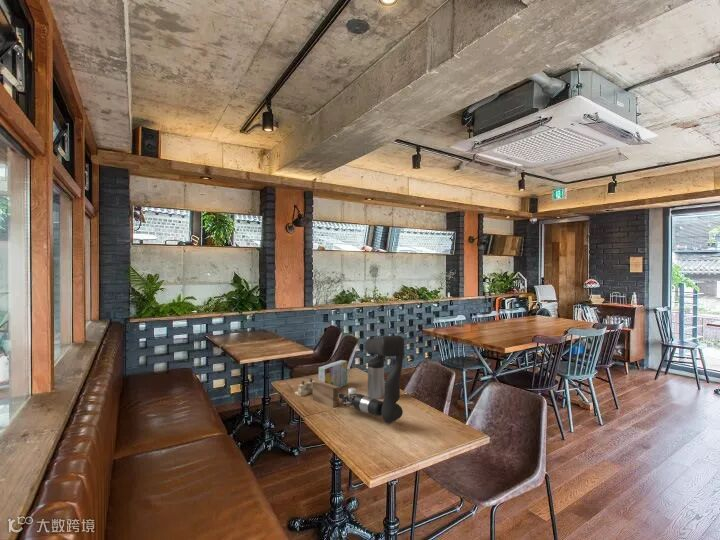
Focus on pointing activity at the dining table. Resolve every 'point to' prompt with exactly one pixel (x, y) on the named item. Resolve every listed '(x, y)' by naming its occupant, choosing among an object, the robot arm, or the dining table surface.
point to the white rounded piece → (352, 391)
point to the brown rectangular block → (325, 393)
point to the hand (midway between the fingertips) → (339, 395)
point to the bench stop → (305, 388)
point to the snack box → (334, 373)
